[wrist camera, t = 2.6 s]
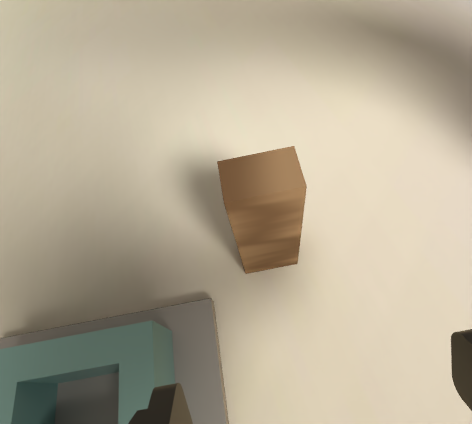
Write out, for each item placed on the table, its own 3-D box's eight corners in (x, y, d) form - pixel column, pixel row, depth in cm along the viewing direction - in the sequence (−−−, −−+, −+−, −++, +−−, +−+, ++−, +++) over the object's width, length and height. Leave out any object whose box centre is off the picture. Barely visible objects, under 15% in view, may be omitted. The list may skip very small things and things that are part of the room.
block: (289, 234, 27) (293, 146, 17) (297, 263, 26) (306, 186, 16) (240, 244, 27) (217, 161, 17) (245, 273, 26) (224, 202, 16)
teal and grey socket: (213, 301, 25) (198, 282, 21) (239, 509, 19) (226, 544, 15) (7, 340, 25) (-50, 330, 21) (-29, 554, 20) (-118, 601, 15)
